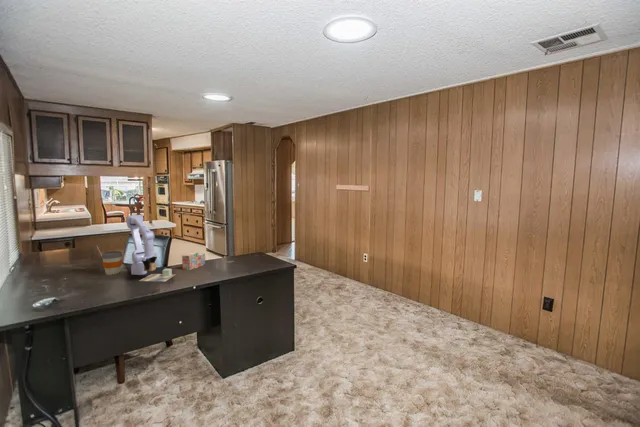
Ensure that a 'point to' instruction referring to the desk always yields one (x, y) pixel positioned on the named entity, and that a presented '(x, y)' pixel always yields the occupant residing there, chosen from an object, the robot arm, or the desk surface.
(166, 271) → the sage block
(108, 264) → the reusable coffee cup
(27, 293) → the desk surface
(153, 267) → the oak block
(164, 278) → the baseplate
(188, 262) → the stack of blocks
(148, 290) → the desk surface
